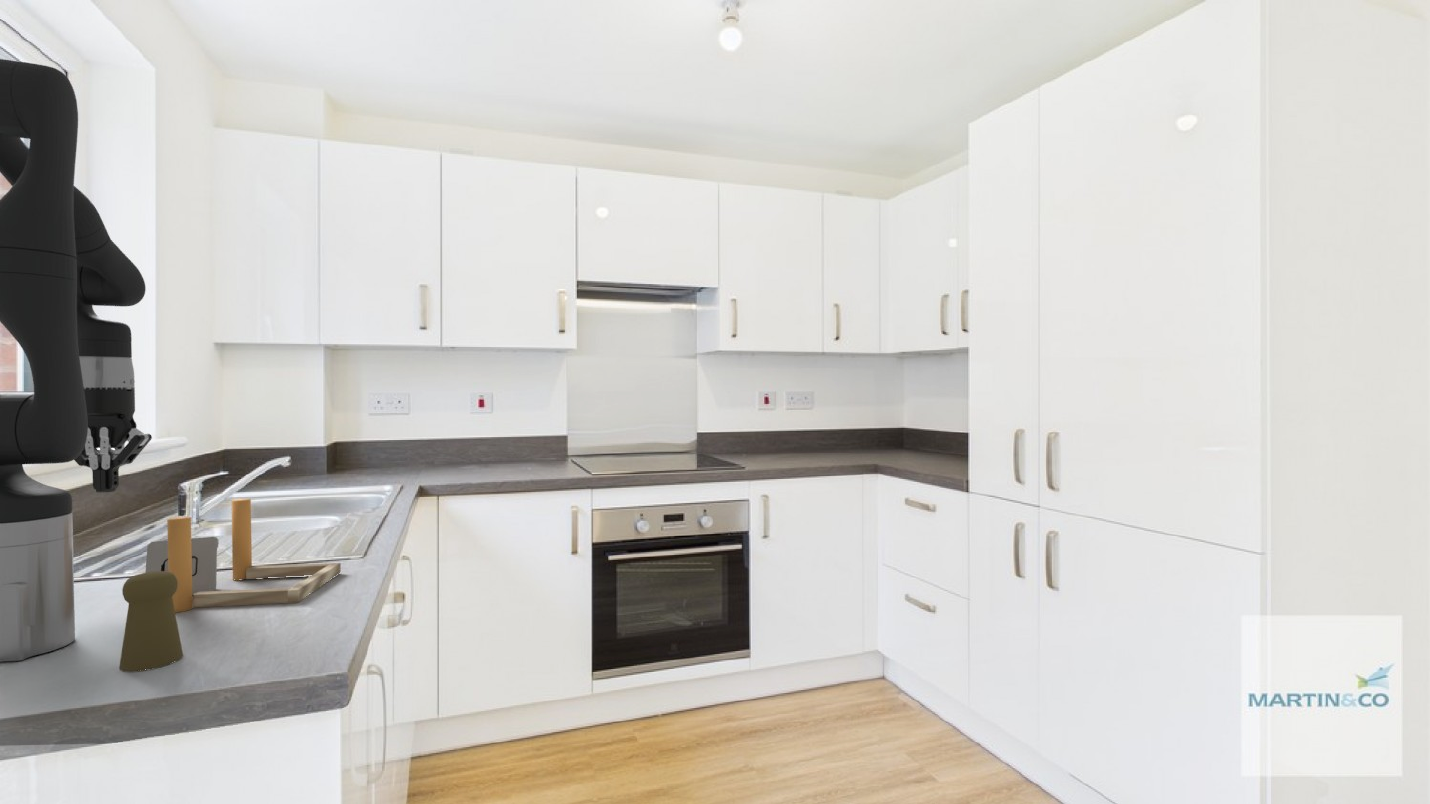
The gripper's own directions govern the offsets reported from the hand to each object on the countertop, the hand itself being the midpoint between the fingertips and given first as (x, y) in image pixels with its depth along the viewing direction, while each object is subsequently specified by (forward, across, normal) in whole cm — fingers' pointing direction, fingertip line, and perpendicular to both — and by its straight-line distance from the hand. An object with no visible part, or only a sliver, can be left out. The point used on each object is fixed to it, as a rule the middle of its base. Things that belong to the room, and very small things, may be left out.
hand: (106, 491), depth 108 cm
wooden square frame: (+17, +24, 0) cm, 30 cm away
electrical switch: (+17, +11, 0) cm, 21 cm away
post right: (+17, +16, +8) cm, 25 cm away
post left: (+17, +16, -9) cm, 25 cm away
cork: (+17, +26, -30) cm, 43 cm away
